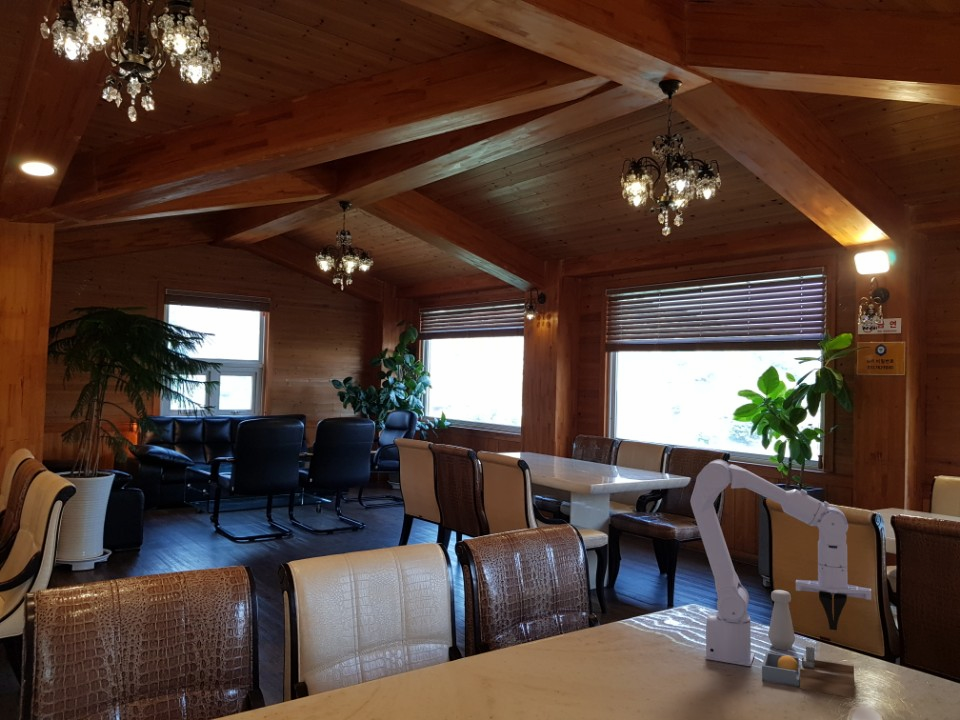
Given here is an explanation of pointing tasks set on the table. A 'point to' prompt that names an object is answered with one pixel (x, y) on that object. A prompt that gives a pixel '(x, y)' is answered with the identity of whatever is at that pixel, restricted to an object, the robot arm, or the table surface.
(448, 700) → the table surface
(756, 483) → the robot arm
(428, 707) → the table surface
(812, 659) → the grey stepped block
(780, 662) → the ball
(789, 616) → the salt shaker
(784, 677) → the blue-grey open tray
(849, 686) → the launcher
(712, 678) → the table surface
